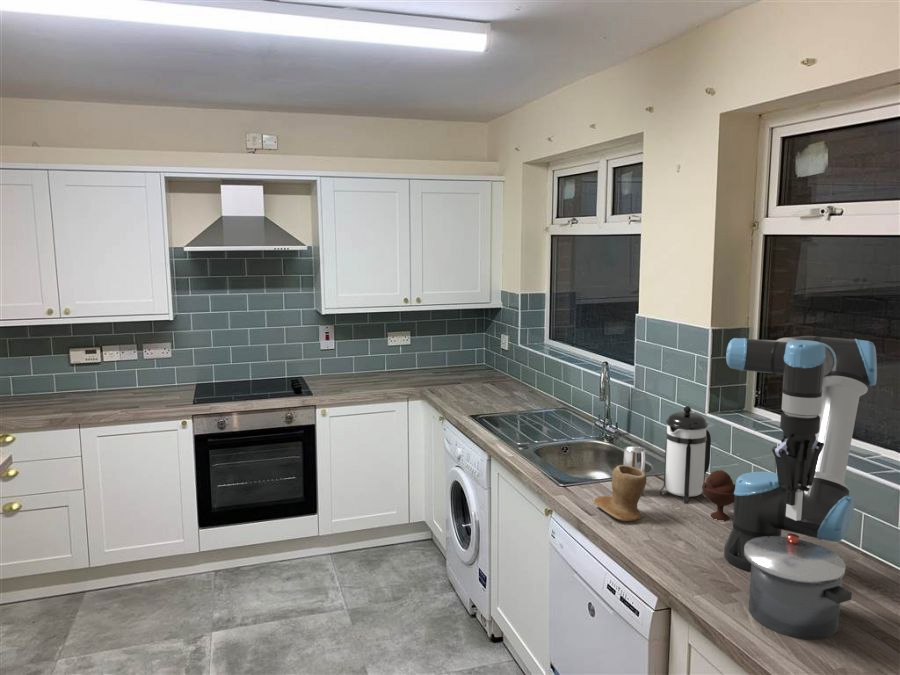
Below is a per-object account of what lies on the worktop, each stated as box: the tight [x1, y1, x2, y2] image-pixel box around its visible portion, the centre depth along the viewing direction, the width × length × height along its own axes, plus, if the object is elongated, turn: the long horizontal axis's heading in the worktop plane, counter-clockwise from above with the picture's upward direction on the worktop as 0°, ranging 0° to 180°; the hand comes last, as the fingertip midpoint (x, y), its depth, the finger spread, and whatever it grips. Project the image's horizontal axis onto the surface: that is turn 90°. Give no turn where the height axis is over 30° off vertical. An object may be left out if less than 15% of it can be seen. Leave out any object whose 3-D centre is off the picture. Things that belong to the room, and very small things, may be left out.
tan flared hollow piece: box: [592, 464, 647, 522], centre depth 209 cm, size 15×12×15 cm
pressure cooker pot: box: [748, 555, 853, 640], centre depth 153 cm, size 20×24×13 cm
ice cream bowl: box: [702, 469, 736, 522], centre depth 206 cm, size 11×11×15 cm
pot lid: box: [744, 533, 846, 583], centre depth 151 cm, size 20×20×3 cm
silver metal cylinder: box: [622, 445, 646, 473], centre depth 226 cm, size 7×7×15 cm
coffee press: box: [659, 405, 712, 504], centre depth 224 cm, size 17×16×30 cm
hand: (793, 517), depth 150 cm, fingers closed
